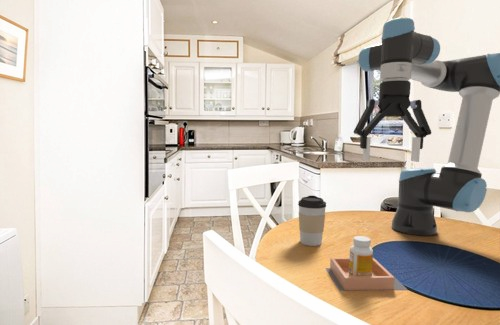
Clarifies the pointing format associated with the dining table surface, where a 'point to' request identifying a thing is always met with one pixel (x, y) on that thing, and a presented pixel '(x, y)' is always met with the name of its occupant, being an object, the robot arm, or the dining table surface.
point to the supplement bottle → (361, 257)
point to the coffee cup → (311, 220)
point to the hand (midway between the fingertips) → (390, 161)
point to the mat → (396, 287)
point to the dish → (375, 282)
